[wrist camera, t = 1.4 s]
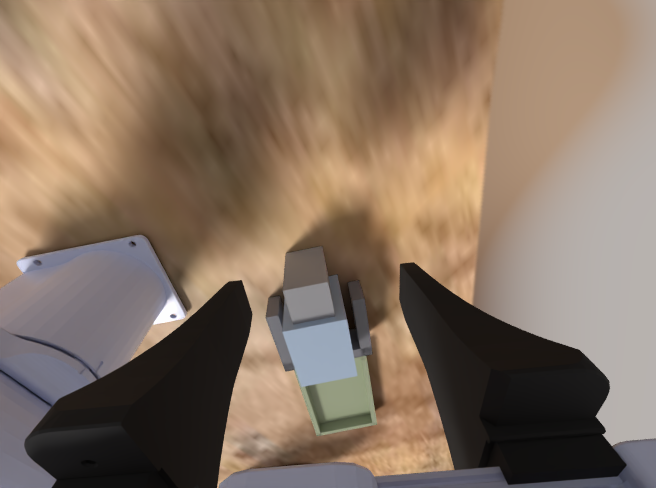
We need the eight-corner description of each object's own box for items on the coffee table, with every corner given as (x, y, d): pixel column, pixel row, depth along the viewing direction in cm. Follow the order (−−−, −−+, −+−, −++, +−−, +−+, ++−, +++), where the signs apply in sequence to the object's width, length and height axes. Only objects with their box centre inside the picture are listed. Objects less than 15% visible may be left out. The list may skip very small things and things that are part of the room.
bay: (286, 349, 28) (285, 371, 26) (268, 298, 25) (265, 317, 23) (366, 333, 28) (372, 354, 26) (358, 280, 25) (364, 298, 23)
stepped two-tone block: (300, 334, 27) (301, 387, 22) (276, 254, 23) (270, 297, 18) (346, 325, 27) (357, 375, 22) (331, 244, 23) (340, 284, 18)
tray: (316, 422, 34) (316, 436, 32) (294, 357, 28) (294, 370, 27) (374, 411, 34) (377, 424, 32) (363, 343, 28) (366, 355, 27)
